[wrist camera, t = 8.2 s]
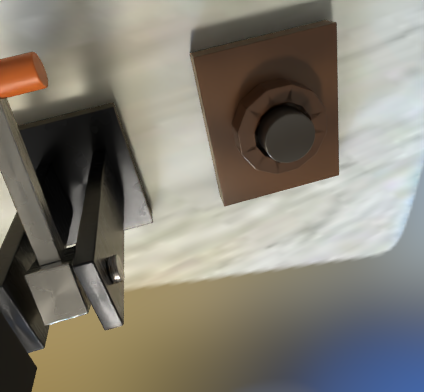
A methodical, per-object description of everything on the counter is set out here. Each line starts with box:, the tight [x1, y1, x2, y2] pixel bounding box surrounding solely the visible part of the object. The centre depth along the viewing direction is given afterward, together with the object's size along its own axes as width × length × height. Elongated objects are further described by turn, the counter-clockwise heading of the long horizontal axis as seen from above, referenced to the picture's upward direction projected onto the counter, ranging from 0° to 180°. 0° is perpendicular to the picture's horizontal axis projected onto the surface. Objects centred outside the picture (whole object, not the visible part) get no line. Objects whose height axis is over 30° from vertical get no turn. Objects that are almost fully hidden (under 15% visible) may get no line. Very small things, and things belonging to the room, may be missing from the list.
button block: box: [190, 20, 339, 206], centre depth 29 cm, size 12×10×4 cm
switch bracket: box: [0, 102, 153, 353], centre depth 24 cm, size 10×8×14 cm
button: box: [258, 106, 315, 163], centre depth 27 cm, size 4×4×2 cm
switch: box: [0, 52, 91, 326], centre depth 18 cm, size 12×5×2 cm, turn 11°
